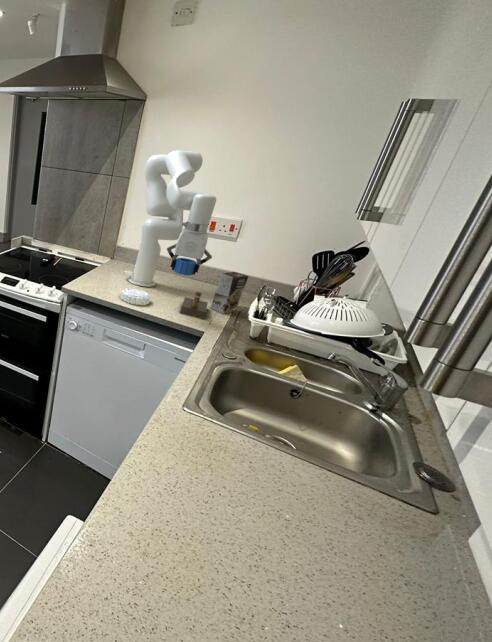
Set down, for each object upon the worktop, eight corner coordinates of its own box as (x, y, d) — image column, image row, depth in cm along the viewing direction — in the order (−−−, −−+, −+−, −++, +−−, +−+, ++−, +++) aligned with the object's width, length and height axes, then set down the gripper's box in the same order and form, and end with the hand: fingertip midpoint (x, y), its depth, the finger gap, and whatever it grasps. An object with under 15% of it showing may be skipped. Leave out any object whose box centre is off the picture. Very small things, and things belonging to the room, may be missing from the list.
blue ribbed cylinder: (172, 272, 155) (175, 260, 153) (174, 268, 161) (177, 256, 159) (192, 276, 152) (196, 264, 150) (193, 272, 158) (197, 260, 156)
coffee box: (223, 314, 164) (236, 278, 157) (209, 307, 169) (221, 272, 163) (236, 311, 168) (249, 275, 162) (222, 305, 173) (234, 270, 167)
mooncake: (150, 299, 173) (152, 291, 172) (147, 307, 163) (149, 300, 162) (122, 292, 178) (124, 285, 177) (118, 300, 168) (119, 293, 167)
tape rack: (179, 312, 161) (184, 296, 158) (182, 303, 172) (187, 287, 169) (203, 319, 157) (209, 302, 154) (205, 308, 168) (211, 292, 165)
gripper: (170, 225, 150) (158, 268, 157) (221, 233, 142) (206, 279, 149) (173, 222, 156) (161, 264, 163) (222, 230, 148) (207, 274, 155)
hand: (183, 271), depth 156 cm, fingers closed on blue ribbed cylinder, 7 cm apart
